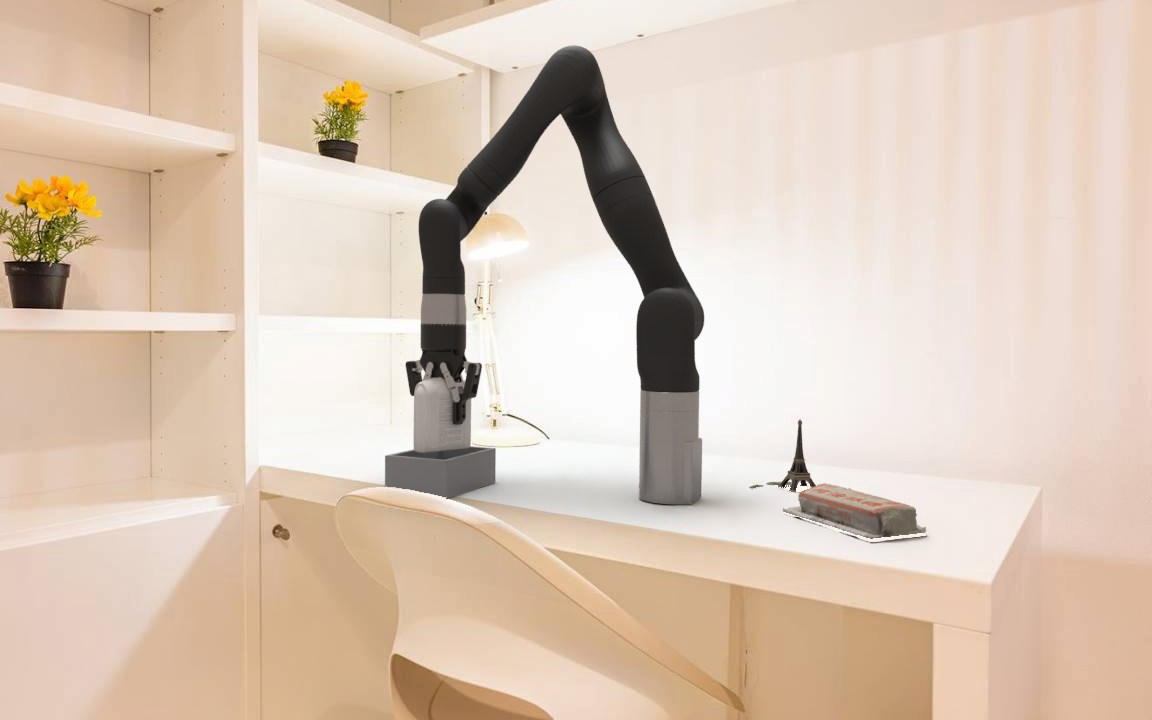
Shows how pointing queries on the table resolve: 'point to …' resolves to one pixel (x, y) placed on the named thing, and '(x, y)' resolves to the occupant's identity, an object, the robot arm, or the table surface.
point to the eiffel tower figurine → (795, 468)
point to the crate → (441, 470)
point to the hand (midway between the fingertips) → (442, 422)
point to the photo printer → (438, 418)
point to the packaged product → (856, 512)
